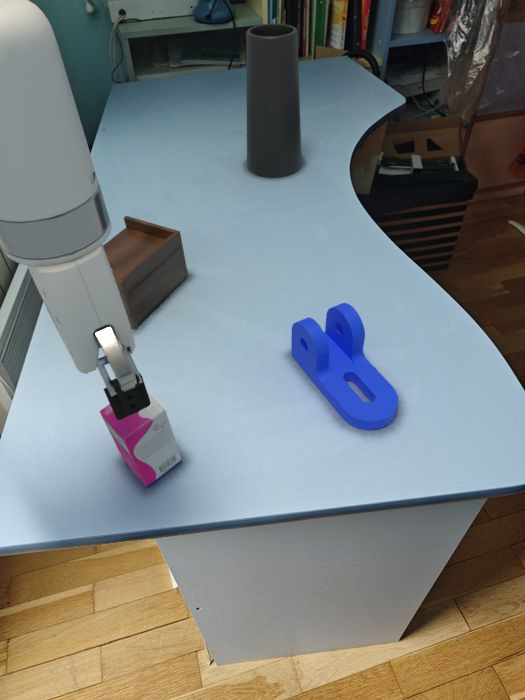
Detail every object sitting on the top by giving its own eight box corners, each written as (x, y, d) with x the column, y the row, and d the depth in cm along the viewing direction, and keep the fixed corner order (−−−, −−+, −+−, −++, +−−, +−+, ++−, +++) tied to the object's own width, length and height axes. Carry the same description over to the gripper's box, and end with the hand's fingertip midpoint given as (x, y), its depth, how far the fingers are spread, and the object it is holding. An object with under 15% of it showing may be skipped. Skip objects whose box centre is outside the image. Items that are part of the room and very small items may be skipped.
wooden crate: (82, 309, 86) (63, 263, 79) (138, 260, 96) (126, 215, 88) (135, 330, 82) (120, 283, 75) (188, 276, 92) (180, 231, 84)
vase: (262, 148, 128) (258, 18, 107) (310, 158, 123) (315, 24, 102) (237, 171, 120) (226, 35, 99) (286, 182, 115) (286, 42, 94)
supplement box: (158, 434, 67) (139, 382, 59) (183, 461, 64) (168, 410, 56) (122, 460, 65) (97, 409, 56) (146, 490, 62) (125, 440, 53)
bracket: (291, 355, 77) (291, 313, 70) (334, 336, 79) (339, 294, 73) (360, 439, 66) (368, 398, 59) (408, 414, 68) (420, 372, 62)
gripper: (-28, 182, 37) (50, 338, 50) (26, 305, 27) (108, 462, 40) (68, 156, 40) (119, 310, 53) (150, 259, 30) (190, 420, 42)
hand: (114, 376), depth 46 cm, fingers open, 9 cm apart
